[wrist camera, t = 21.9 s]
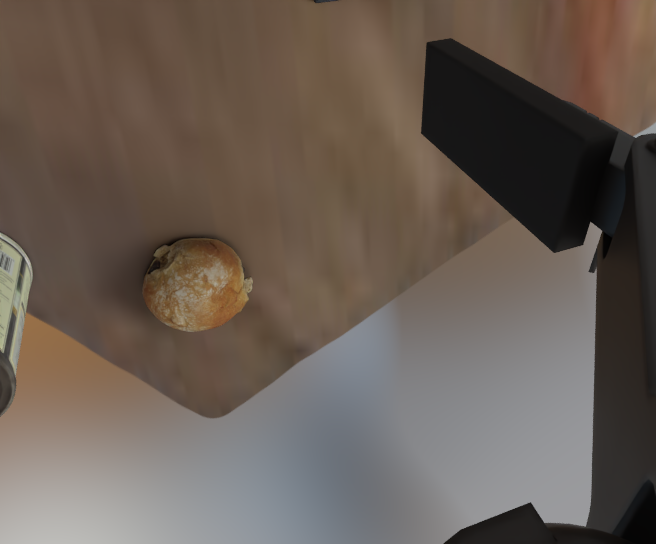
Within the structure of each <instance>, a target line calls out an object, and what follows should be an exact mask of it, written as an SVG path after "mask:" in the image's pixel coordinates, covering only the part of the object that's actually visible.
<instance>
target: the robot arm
mask: <svg viewBox="0 0 656 544" xmlns="http://www.w3.org/2000/svg"><path fill="white" fill-rule="evenodd" d="M421 134H422V135H424V136H425V137H426V138H427V139H428V140H429V141H430V142H431V143H432V144H434V145H435V146H436V147H437V148H438V149H439V150H440V151H441V152H442V153H444V154H445V155H446V156H447V157H448V158H449V159H450V160H451V161H452V162H454V163H455V164H456V165H457V166H458V167H459V168H460V169H461V170H462V171H464V172H465V173H466V174H467V175H468V176H469V177H470V178H471V179H472V180H474V181H475V182H476V183H477V184H478V185H479V186H480V187H481V188H482V189H484V190H485V191H486V192H487V193H488V194H489V195H490V196H491V197H492V198H494V199H495V200H496V201H497V202H498V203H499V204H500V205H501V206H502V207H504V208H505V209H506V210H507V211H508V212H509V213H510V214H511V215H512V216H514V217H515V218H516V219H517V220H518V221H519V222H520V223H522V225H524V226H525V227H526V228H527V229H528V230H529V231H530V232H531V233H532V234H534V235H535V236H536V237H537V238H538V239H539V240H540V241H541V242H543V243H544V244H545V245H546V246H547V247H548V248H549V249H550V250H551V251H553V252H554V253H556V252H560V251H563V250H567V249H570V248H574V247H577V246H581V245H583V243H584V240H585V237H586V234H587V231H588V227H589V224H590V222H592V223H593V224H594V225H596V226H597V227H598V228H600V229H601V230H602V234H601V237H600V240H599V243H598V246H597V249H596V252H595V255H594V258H593V261H592V263H591V267H590V270H589V272H592V273H594V272H595V269H596V268H597V289H596V290H597V291H596V329H595V330H596V331H595V371H594V413H593V453H592V495H591V506H590V512H589V517H588V521H587V525H586V527H584V526H578V525H573V524H561V523H544V522H543V520H542V519H541V517H540V516H539V514H538V513H537V511H536V510H535V508H534V507H533V505H532V504H531V503H528V504H525V505H523V506H520V507H518V508H515V509H512V510H510V511H507V512H505V513H502V514H500V515H497V516H495V517H492V518H490V519H487V520H484V521H482V522H479V523H477V524H474V525H472V526H469V527H466V528H464V529H461V530H460V531H459V532H457V533H456V534H455V535H454V536H452V537H451V538H450V539H449V540H447V541H446V542H445V543H444V544H656V134H646V135H641V136H639V137H637V138H635V137H633V136H631V135H629V134H627V133H626V132H624V131H622V130H620V129H618V128H616V127H615V126H613V125H611V124H609V123H607V122H606V121H604V120H599V118H598V117H597V116H595V115H593V114H591V113H587V111H586V110H584V109H582V108H580V107H578V106H577V105H575V104H573V103H571V102H567V101H564V100H561V99H559V98H557V97H555V96H554V95H552V94H550V93H548V92H547V91H545V90H543V89H541V88H539V87H538V86H536V85H534V84H532V83H530V82H529V81H527V80H525V79H523V78H521V77H520V76H518V75H516V74H514V73H512V72H511V71H509V70H507V69H505V68H503V67H502V66H500V65H498V64H496V63H494V62H493V61H491V60H489V59H487V58H485V57H484V56H482V55H480V54H478V53H477V52H475V51H473V50H471V49H469V48H468V47H466V46H464V45H462V44H460V43H459V42H457V41H455V40H453V39H451V38H450V39H444V40H438V41H432V42H427V45H426V62H425V78H424V95H423V112H422V128H421Z"/></svg>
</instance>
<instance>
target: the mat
mask: <svg viewBox="0 0 656 544" xmlns="http://www.w3.org/2000/svg"><path fill="white" fill-rule="evenodd" d="M329 1H337V0H314V2H315V3H321V2H329Z"/></svg>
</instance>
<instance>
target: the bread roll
mask: <svg viewBox="0 0 656 544" xmlns="http://www.w3.org/2000/svg"><path fill="white" fill-rule="evenodd" d="M153 256H155V257H156V258H155V259H154V260H153V262H152V264H151V265H150V267H149V269H148V271H147V274H146V275H145V277H144V283H143V290H142V292H143V297H144V300H145V303H146V305H147V307H148V308H149V310H150V311H151V312H152V313H153V314H154V316H155V317H156V318H158V319H159V320H160V321H161V322H163V323H164V324H166V325H168V326H170V327H172V328H176V329H179V330H184V331H189V332H196V331H203V330H207V329H212V328H216V327H219V326H221V325H223V324H225V323H226V322H227V321H228V320H230V319H231V318H232V317H233V316H234V315H235V314H237V313H239V312H241V310H242V308H243V306H244V305H245V303H246V302H247V301H248V299H249V298H248V296H247V293H249V292H251V290H252V284H253V280H252V278H251V277H247V279H246V278H244V274H243V273H244V270H245V269H244V267H243V266H242V265H241V260H240V259H239V257H238V255H237V254H236V253H235V252H234V251H233V249H232V248H230V247H229V246H228V245H226V244H225V243H223V242H221V241H219V240H217V239H215V240H213V239H209V238H208V239H207V238H189V239H182V240H179V241H177V242H175V243H173V244H172V245H171V246H167V245H163V246H162V247H160V248H159V249H157V250H156V252H155V253H154V255H153Z"/></svg>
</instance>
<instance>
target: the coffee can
mask: <svg viewBox="0 0 656 544" xmlns="http://www.w3.org/2000/svg"><path fill="white" fill-rule="evenodd" d="M32 278H33V274H32V267H31V263H30V261H29V258H28V257H27V255H26V253H25V252H24V251H23V250H22V248H21V247H20V246H19V245H18V244H17V243H16V242H14V241H13V240H12V239H10V238H9V237H7V236H6V235H4V234H2V233H0V417H1V416H2V415H3V414H4V413H5V412H6V411H7V409H8V408H9V406H10V405H11V403H12V401H13V398H14V395H15V391H16V378H15V376H16V370H17V363H18V358H19V351H20V345H21V339H22V332H23V326H24V320H25V314H26V308H27V302H28V295H29V289H30V286H31V283H32Z"/></svg>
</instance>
